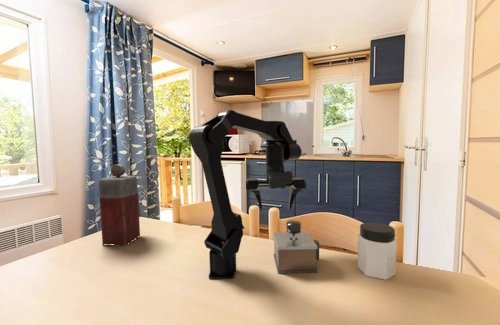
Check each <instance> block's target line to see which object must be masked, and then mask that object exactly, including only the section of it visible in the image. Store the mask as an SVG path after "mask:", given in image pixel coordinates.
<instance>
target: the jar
mask: <svg viewBox="0 0 500 325" xmlns="http://www.w3.org/2000/svg"><path fill="white" fill-rule="evenodd" d="M395 237H396V229H395V228H394V227H392V226H391V225H388V224H385V223H382V222H368V221H367V222H363V223H361V224H360V225H359V234H357V268H358V269H359V270H360V271H361V272H362V273H363V274H364V275H365V276H366V277H369V278H375V279H379V280H384V281H388V279H390V278H392V277H393V276H395V275H396V272H397V267H396V266H397V239H396V238H395Z"/></svg>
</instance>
